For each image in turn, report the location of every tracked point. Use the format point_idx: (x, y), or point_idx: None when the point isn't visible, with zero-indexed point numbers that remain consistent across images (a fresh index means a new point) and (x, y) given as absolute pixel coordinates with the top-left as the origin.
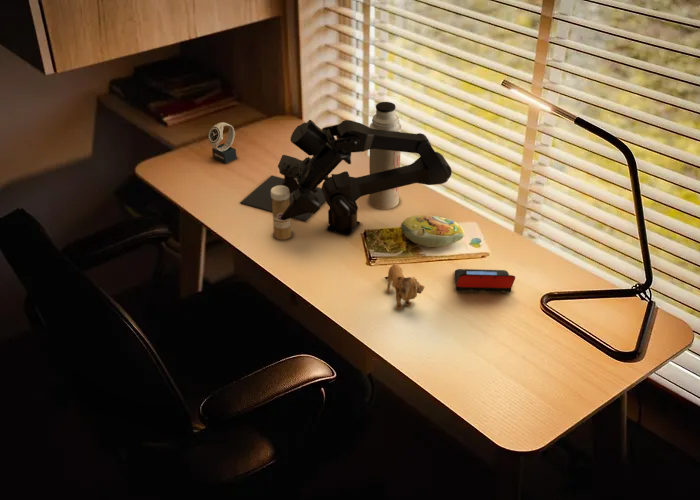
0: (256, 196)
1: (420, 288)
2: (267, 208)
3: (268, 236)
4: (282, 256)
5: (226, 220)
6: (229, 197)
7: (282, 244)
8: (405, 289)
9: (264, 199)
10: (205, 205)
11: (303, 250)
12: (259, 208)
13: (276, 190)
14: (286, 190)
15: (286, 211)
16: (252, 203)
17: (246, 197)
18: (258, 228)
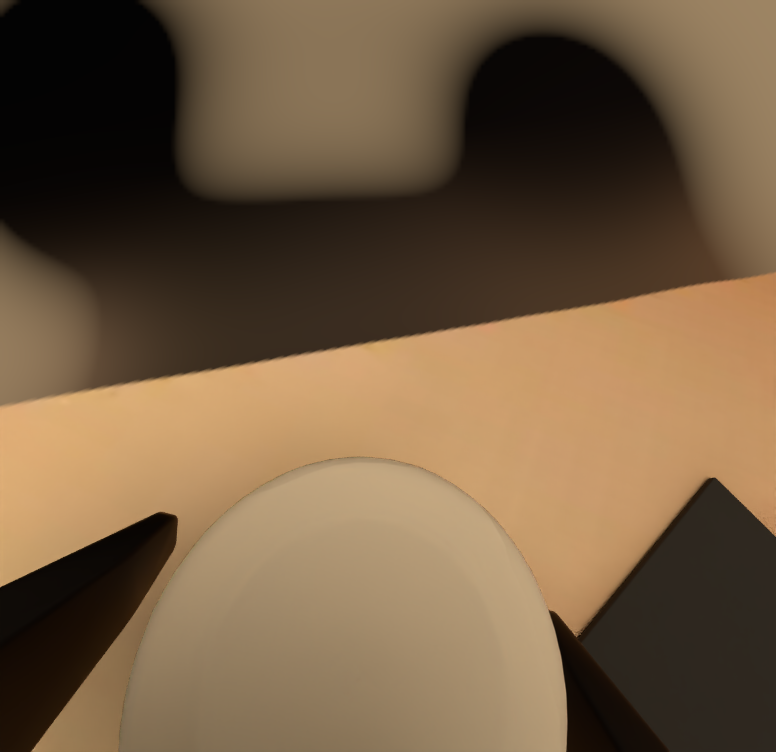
0: (770, 583)
1: None
2: (636, 596)
3: None
4: (159, 487)
5: (574, 371)
6: (765, 450)
7: None
8: None
9: (736, 618)
10: (703, 341)
11: (122, 638)
12: (648, 553)
13: (360, 573)
14: None
15: (26, 580)
16: (698, 531)
17: (760, 523)
18: (465, 474)
